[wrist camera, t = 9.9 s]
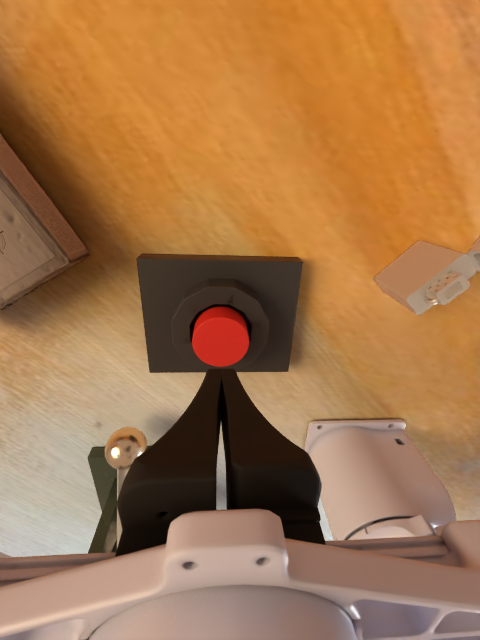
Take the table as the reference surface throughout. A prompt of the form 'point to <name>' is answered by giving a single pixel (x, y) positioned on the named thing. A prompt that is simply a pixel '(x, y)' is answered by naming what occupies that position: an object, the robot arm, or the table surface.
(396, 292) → the lighter
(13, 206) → the box
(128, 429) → the lever
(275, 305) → the button box
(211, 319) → the button
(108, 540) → the bracket
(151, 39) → the table surface
